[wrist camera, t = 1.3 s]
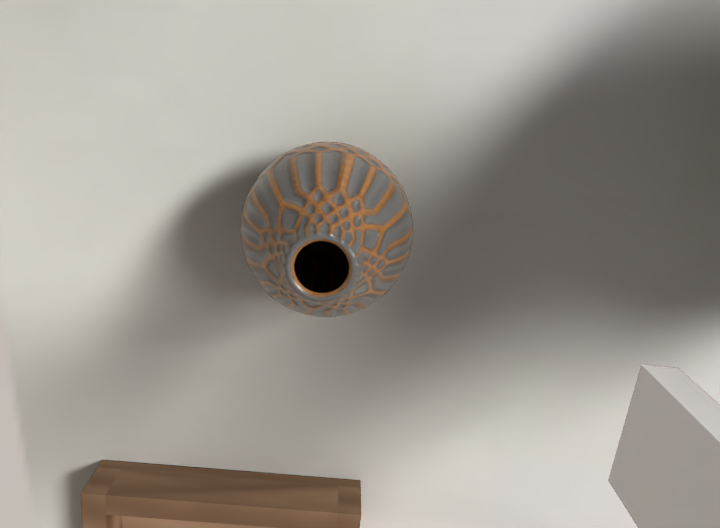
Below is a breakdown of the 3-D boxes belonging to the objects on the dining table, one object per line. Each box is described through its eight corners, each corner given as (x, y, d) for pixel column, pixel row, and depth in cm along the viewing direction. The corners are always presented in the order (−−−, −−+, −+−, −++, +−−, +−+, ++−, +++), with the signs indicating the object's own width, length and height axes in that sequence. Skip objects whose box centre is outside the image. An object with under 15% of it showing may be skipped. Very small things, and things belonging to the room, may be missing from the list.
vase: (245, 262, 28) (200, 342, 19) (271, 118, 26) (231, 138, 17) (384, 291, 28) (399, 381, 20) (420, 153, 26) (452, 188, 18)
